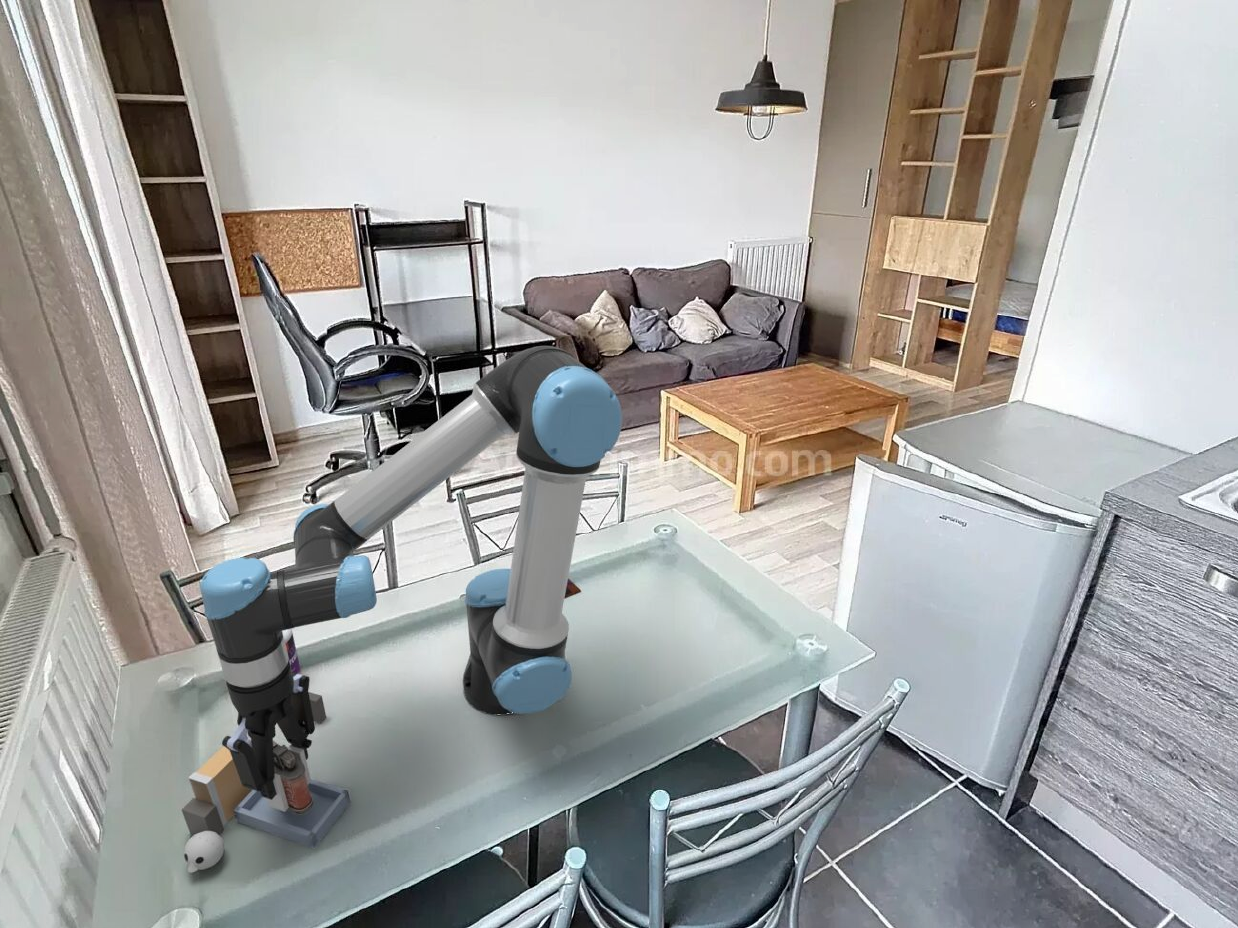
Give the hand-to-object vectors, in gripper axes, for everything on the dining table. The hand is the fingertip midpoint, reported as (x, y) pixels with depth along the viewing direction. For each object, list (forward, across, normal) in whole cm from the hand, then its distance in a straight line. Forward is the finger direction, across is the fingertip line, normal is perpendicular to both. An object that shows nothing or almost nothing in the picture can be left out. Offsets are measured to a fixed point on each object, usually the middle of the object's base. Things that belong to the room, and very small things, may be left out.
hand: (290, 793), depth 98 cm
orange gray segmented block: (+4, -4, -10) cm, 11 cm away
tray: (+4, 0, 0) cm, 4 cm away
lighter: (+1, 0, 0) cm, 1 cm away
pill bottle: (+4, -20, -21) cm, 30 cm away
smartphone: (+5, -61, +14) cm, 63 cm away
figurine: (+4, +10, -6) cm, 13 cm away
